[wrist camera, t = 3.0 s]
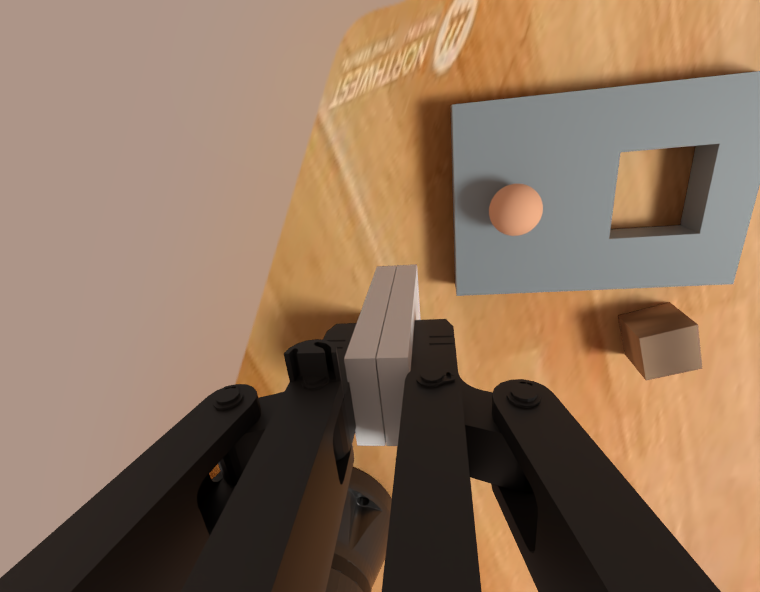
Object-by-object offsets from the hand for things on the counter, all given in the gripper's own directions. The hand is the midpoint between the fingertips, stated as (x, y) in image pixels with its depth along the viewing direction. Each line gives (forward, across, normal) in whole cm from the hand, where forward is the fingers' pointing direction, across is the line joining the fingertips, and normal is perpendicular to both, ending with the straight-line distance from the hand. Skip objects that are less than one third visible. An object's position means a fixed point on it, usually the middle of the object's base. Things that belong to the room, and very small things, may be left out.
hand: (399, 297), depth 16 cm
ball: (+16, +7, 0) cm, 17 cm away
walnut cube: (+18, +19, -12) cm, 29 cm away
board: (+18, +13, 0) cm, 22 cm away
